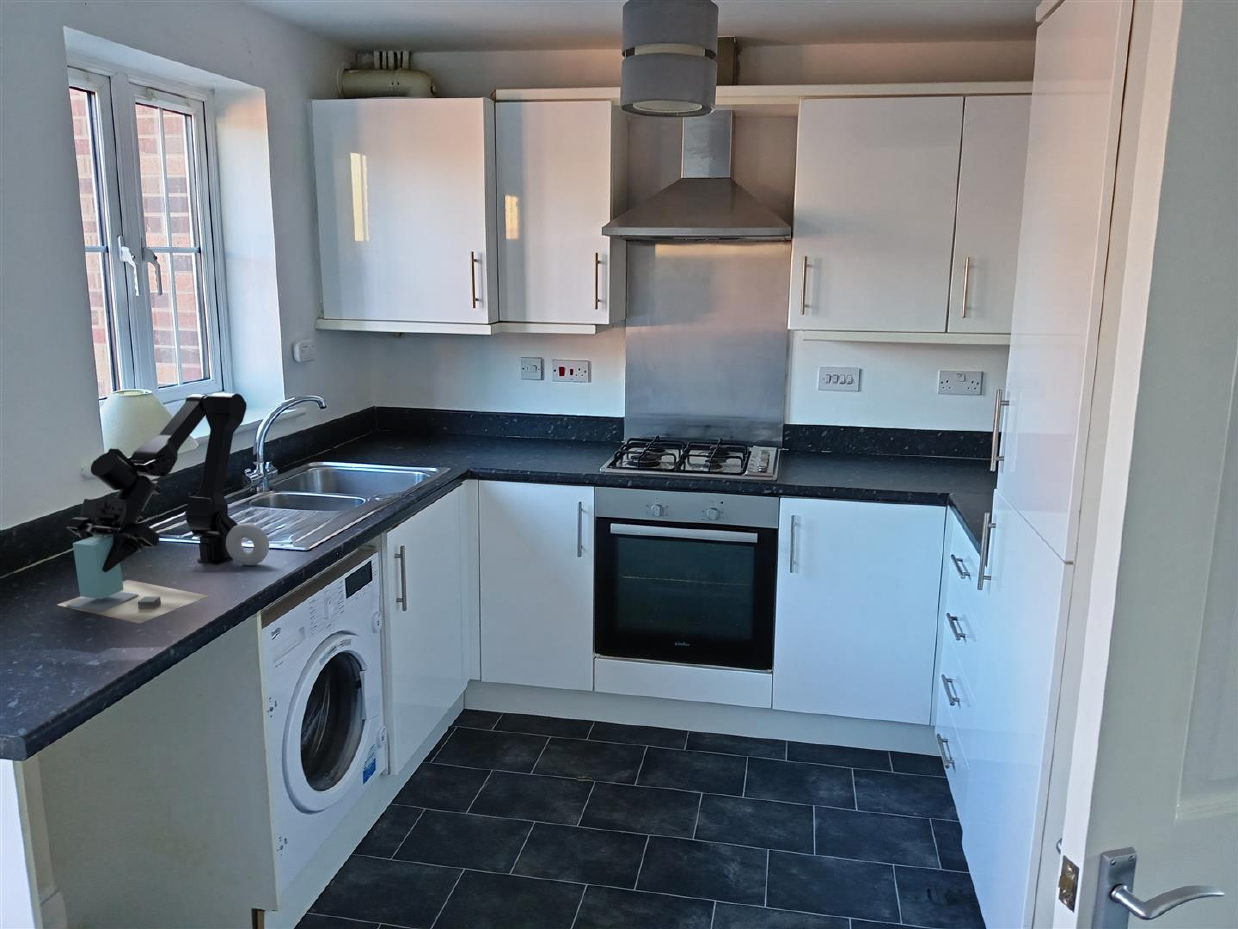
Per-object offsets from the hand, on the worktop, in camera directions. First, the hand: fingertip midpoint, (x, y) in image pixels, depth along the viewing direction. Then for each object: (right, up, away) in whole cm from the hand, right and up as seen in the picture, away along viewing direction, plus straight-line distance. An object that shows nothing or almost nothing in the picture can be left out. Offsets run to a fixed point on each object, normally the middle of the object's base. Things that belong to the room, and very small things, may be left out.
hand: (92, 570), depth 186 cm
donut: (+20, -2, +29) cm, 35 cm away
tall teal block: (+1, -5, +2) cm, 5 cm away
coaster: (+1, -7, +3) cm, 7 cm away
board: (+6, -8, +4) cm, 11 cm away
